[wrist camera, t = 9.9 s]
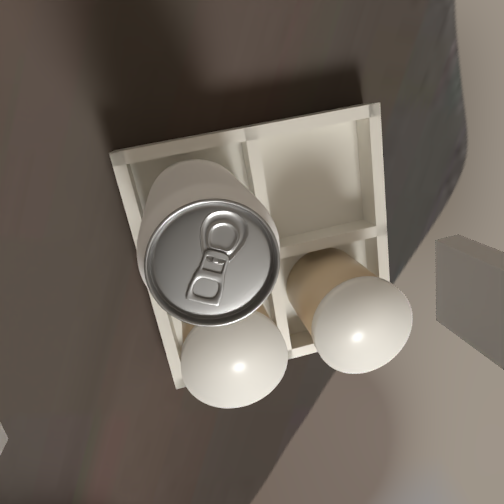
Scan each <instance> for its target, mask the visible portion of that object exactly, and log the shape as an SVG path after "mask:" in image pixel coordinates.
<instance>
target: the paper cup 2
mask: <svg viewBox="0 0 504 504" xmlns="http://www.w3.org/2000/svg"><path fill="white" fill-rule="evenodd" d="M286 290H287V296H288V299H289V302H290V304H291V305H292V307H293V308H294V310H295V311H296V313H297V314H298V316H299V318H300V319H301V321H302V322H303V324H304V325H305V327H306V328H307V330H308V331H309V333H310V334H311V336H312V340H313V343H314V346H315V348H316V349H317V351H318V353H319V354H320V356H321V357H322V359H323V360H324V361H325V362H326V363H327V364H328V365H329V366H330V367H332V368H334V369H335V370H338V371H341V372H344V373H350V374H359V373H365V372H369V371H372V370H375V369H377V368H379V367H381V366H383V365H385V364H386V363H388V362H389V361H390V360H392V359H393V358H394V357H395V356H396V355H397V354H398V353H399V351H400V350H401V349H402V348H403V346H404V345H405V343H406V341H407V339H408V337H409V335H410V331H411V328H412V321H413V315H412V309H411V305H410V303H409V301H408V299H407V297H406V296H405V295H404V293H403V292H401V290H399V289H398V288H397V287H396V286H394V285H393V284H392V283H390V282H388V281H387V280H385V279H382V278H379V277H377V276H376V275H375V274H373V273H372V272H371V271H369V270H368V269H367V268H365V267H364V266H363V265H362V264H360V263H359V262H358V261H356V260H355V259H354V258H352V257H351V256H350V255H348V254H347V253H346V252H344V251H342V250H340V249H336V248H326V249H321V250H317V251H313V252H309V253H307V254H305V255H304V256H303V257H301V258H300V259H299V260H298V261H297V262H296V264H295V265H294V266H293V268H292V269H291V271H290V273H289V276H288V279H287V286H286Z"/></svg>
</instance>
